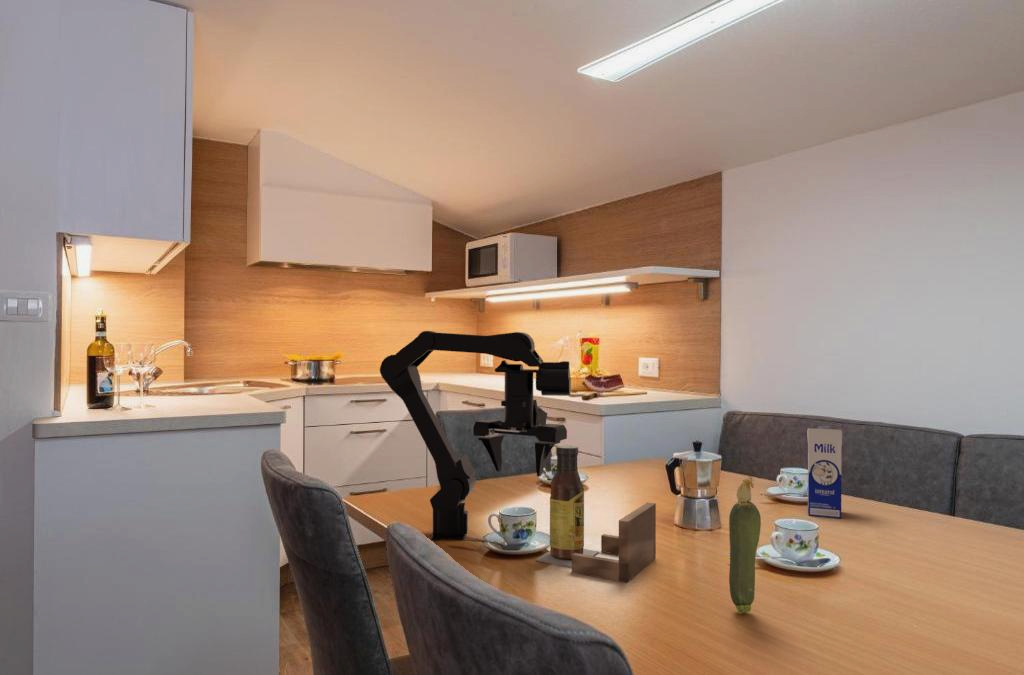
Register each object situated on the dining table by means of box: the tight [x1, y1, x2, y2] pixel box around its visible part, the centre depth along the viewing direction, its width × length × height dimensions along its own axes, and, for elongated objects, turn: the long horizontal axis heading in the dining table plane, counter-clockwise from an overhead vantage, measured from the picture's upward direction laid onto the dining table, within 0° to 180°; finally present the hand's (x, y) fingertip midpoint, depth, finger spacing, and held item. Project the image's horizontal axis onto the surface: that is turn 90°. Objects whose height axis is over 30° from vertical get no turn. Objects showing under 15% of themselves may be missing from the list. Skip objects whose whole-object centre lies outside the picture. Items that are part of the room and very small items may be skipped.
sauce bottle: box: [549, 444, 585, 559], centre depth 127 cm, size 7×6×20 cm
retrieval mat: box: [535, 548, 600, 569], centre depth 127 cm, size 8×10×1 cm
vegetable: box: [728, 476, 762, 615], centre depth 102 cm, size 4×4×20 cm
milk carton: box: [806, 425, 843, 519], centre depth 159 cm, size 7×7×20 cm
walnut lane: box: [571, 502, 657, 583], centre depth 122 cm, size 10×14×10 cm
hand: (518, 473), depth 138 cm, fingers open, 9 cm apart
